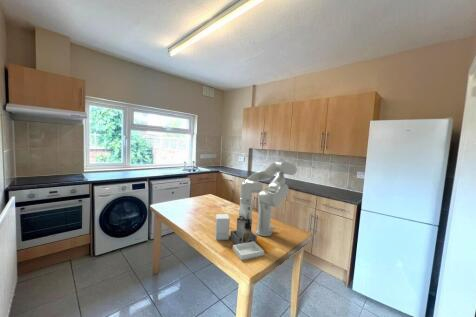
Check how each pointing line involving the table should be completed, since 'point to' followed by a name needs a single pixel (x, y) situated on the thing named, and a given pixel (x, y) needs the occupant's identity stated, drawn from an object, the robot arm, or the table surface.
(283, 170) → the robot arm
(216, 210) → the table surface
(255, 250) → the tray
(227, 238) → the supplement box
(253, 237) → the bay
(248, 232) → the coffee box
